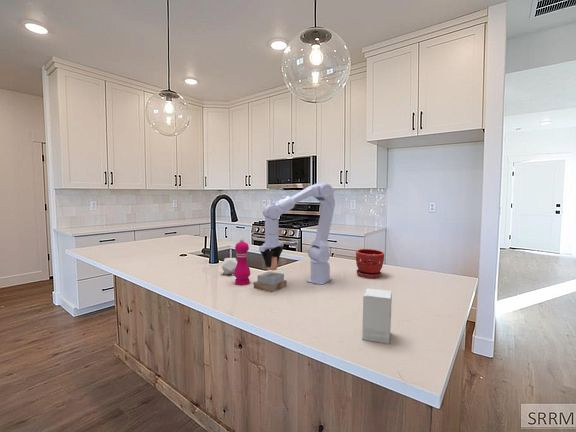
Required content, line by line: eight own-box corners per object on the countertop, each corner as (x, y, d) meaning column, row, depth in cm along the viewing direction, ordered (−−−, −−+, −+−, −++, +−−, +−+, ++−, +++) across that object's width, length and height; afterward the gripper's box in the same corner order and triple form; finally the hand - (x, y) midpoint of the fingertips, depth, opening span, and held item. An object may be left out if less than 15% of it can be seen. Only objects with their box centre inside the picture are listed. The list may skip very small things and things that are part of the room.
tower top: (268, 278, 138) (268, 271, 138) (283, 280, 134) (283, 274, 134) (257, 282, 131) (257, 275, 131) (273, 285, 127) (273, 278, 127)
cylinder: (270, 267, 135) (270, 255, 135) (279, 268, 133) (279, 257, 132) (264, 269, 131) (264, 257, 131) (273, 270, 129) (273, 258, 129)
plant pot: (355, 278, 146) (355, 253, 145) (355, 271, 159) (356, 248, 158) (384, 280, 143) (385, 254, 142) (382, 273, 156) (383, 249, 155)
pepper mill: (247, 285, 135) (246, 240, 133) (231, 284, 137) (230, 239, 135) (252, 281, 142) (252, 237, 141) (237, 280, 144) (237, 236, 142)
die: (233, 278, 149) (243, 260, 152) (217, 269, 148) (227, 252, 152) (232, 280, 156) (242, 263, 160) (217, 271, 156) (227, 254, 159)
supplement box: (389, 344, 84) (390, 298, 83) (361, 339, 87) (362, 295, 86) (391, 332, 91) (392, 290, 90) (365, 328, 94) (366, 287, 93)
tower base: (268, 283, 140) (268, 276, 140) (286, 287, 135) (286, 280, 135) (253, 289, 132) (253, 282, 132) (272, 293, 127) (272, 286, 126)
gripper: (274, 231, 139) (274, 261, 140) (253, 234, 127) (253, 267, 128) (287, 232, 135) (287, 263, 136) (267, 236, 123) (267, 270, 124)
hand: (271, 265), depth 132 cm, fingers closed on cylinder, 4 cm apart
